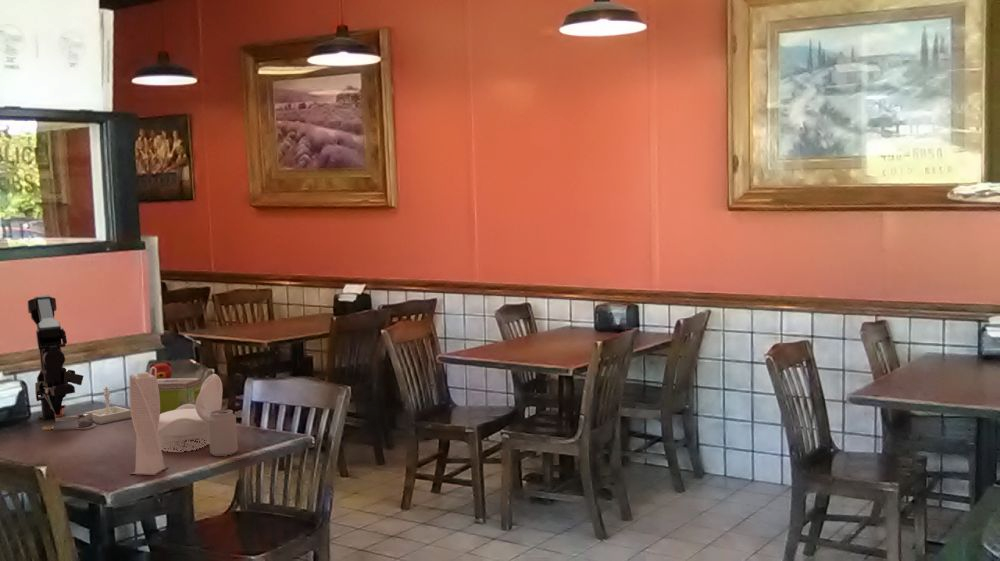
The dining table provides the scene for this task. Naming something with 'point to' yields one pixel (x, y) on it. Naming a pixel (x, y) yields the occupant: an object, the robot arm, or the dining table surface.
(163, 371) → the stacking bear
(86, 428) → the crank base
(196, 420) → the chair
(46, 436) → the dining table surface
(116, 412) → the tray
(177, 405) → the tea box
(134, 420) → the skyscraper
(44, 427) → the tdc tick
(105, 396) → the chess piece
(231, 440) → the can
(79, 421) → the crank
